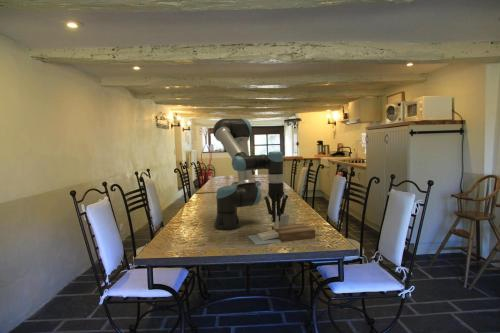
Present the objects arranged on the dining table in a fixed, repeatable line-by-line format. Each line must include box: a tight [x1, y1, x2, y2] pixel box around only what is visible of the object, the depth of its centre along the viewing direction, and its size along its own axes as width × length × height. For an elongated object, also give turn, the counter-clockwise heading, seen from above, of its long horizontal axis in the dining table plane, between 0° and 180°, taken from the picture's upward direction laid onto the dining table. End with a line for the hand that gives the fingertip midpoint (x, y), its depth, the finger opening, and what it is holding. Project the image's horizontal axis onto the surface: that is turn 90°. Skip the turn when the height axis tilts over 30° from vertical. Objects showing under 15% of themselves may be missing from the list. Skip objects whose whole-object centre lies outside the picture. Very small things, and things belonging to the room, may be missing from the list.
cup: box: [269, 211, 290, 226], centre depth 186 cm, size 11×8×8 cm
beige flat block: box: [257, 229, 279, 241], centre depth 164 cm, size 6×9×2 cm, turn 107°
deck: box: [271, 223, 316, 243], centre depth 169 cm, size 14×18×4 cm
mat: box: [247, 234, 282, 246], centre depth 164 cm, size 15×13×1 cm
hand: (276, 227), depth 166 cm, fingers closed
